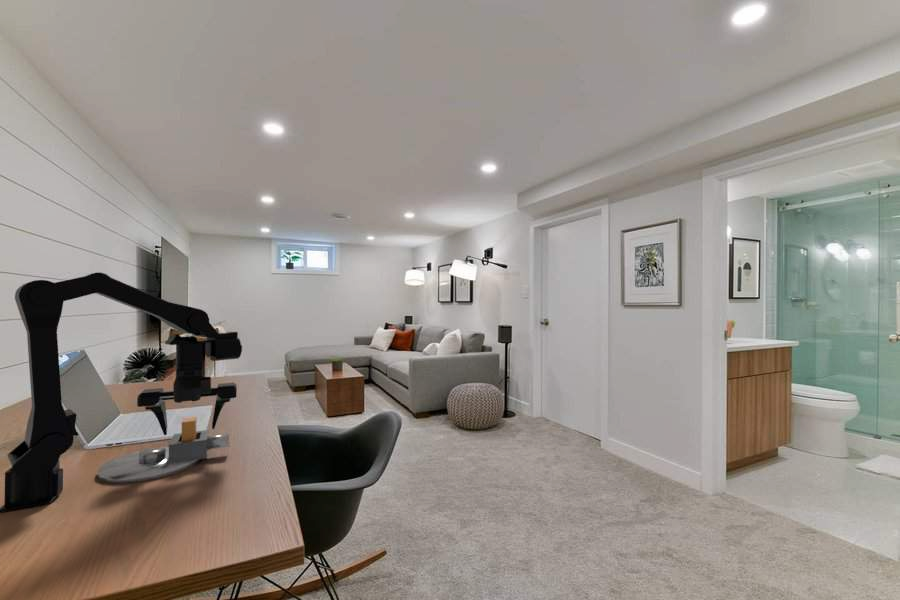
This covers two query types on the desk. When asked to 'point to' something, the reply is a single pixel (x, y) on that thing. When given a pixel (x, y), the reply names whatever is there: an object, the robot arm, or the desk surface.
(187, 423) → the yellow orange block
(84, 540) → the desk surface
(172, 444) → the rosette bracket
